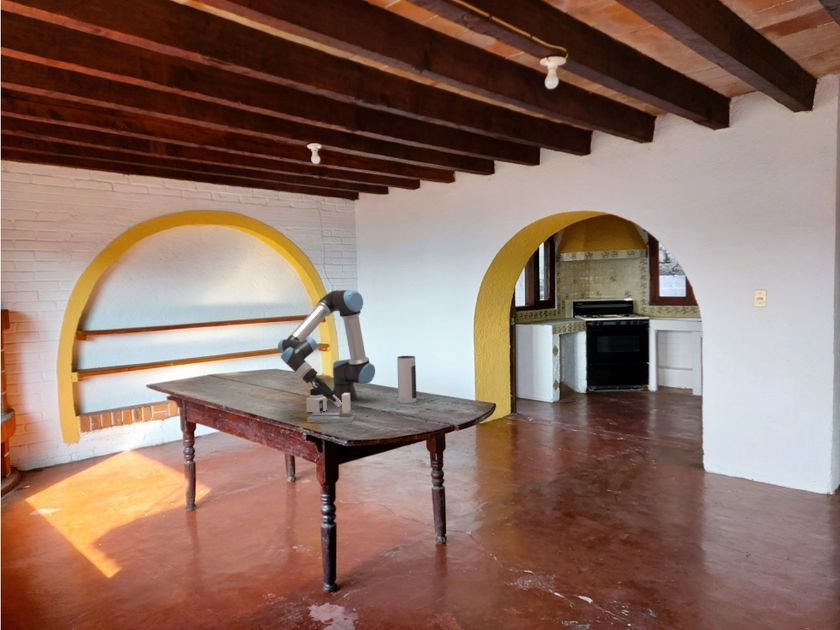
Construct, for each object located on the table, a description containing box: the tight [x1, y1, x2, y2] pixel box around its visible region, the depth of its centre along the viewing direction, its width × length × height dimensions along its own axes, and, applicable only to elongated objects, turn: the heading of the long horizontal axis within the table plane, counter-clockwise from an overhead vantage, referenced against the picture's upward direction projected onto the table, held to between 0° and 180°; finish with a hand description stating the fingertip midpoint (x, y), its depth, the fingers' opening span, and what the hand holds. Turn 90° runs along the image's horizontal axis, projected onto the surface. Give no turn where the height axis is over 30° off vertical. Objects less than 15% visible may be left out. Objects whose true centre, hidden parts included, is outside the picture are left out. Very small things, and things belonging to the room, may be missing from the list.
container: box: [305, 387, 328, 413], centre depth 313 cm, size 8×8×13 cm
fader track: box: [306, 412, 357, 423], centre depth 296 cm, size 12×22×2 cm, turn 85°
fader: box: [338, 393, 355, 417], centre depth 294 cm, size 8×6×10 cm
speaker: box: [396, 355, 418, 405], centre depth 332 cm, size 11×10×26 cm
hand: (340, 405), depth 295 cm, fingers closed
